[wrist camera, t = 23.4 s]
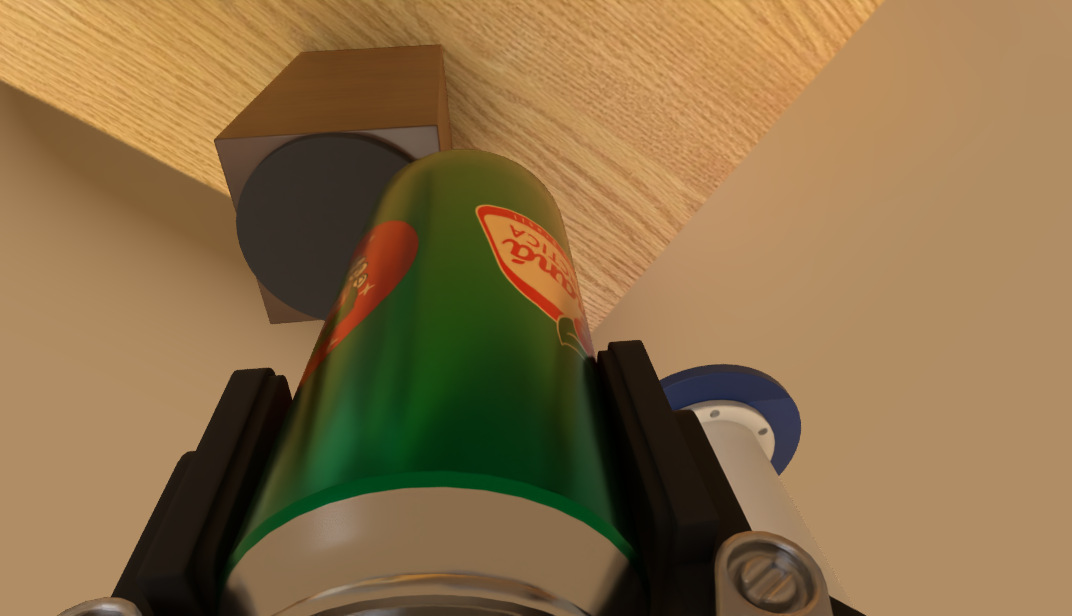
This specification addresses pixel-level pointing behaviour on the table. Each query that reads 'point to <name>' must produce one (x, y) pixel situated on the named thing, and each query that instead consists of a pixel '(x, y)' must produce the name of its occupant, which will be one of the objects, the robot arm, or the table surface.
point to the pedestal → (340, 115)
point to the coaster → (311, 213)
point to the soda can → (447, 424)
